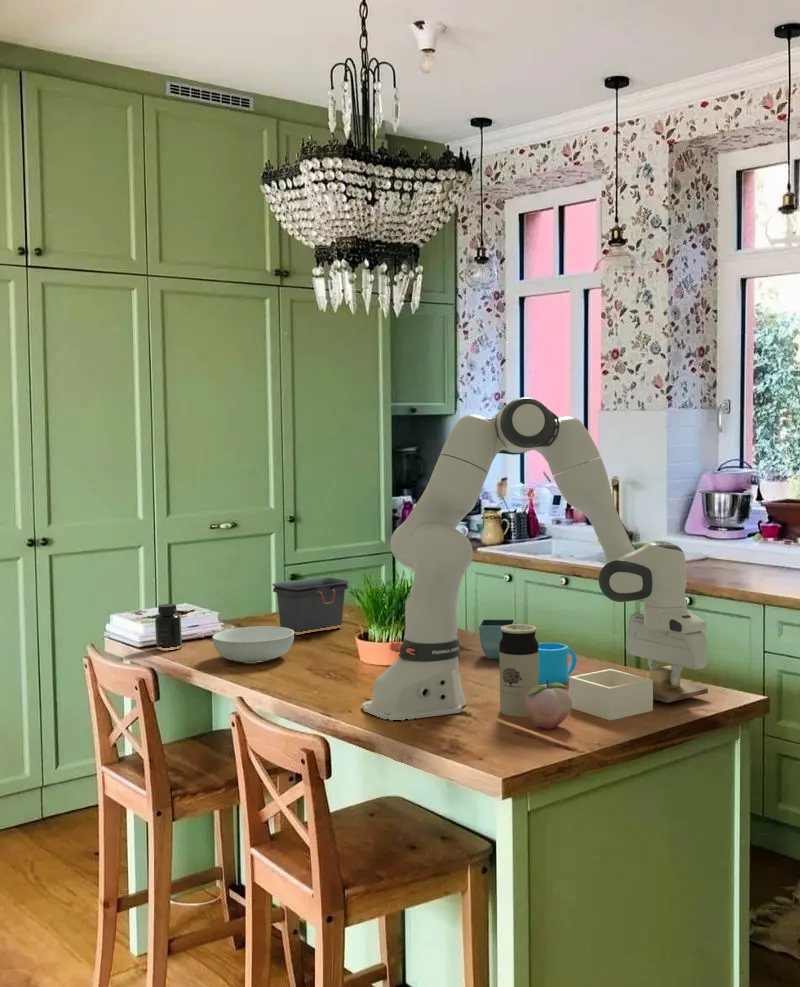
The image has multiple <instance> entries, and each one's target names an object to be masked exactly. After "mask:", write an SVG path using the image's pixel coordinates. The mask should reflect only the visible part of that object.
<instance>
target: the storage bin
mask: <svg viewBox="0 0 800 987" xmlns="http://www.w3.org/2000/svg"><path fill="white" fill-rule="evenodd" d="M349 583H350V580H347V579H341V578H336V577H335V578H334V577H319V578H310V579H309V578H308V579H299V580H292V581H291V580H290V581H289V580H288V581H281V582H280V581H279V582H275V583H274V582H273V583H271V585H272V586H273V590H272V592H273V593H275V594H276V596H277V597H276V598H277V605H278V606H277V607H278V617H279V627H284V628H289V629H292V630H293V631H294V632H303V631H308V630H314V629H320V628H326V627H331V626H337V625H341V624H342V625H343V617H344V616H343V615H344V602H345V593H346V590H348V589H349V585H348V584H349Z"/></svg>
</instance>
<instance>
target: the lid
mask: <svg viewBox="0 0 800 987" xmlns="http://www.w3.org/2000/svg"><path fill="white" fill-rule="evenodd" d="M658 667H659V666H658ZM672 671H673V669H671V664H670V665H666V666H665V665H664V666H661V667H659V668H654V669H650V668H649V679H652V680H653V700H656V701H660V702H662V703H671V702H676V701H680V700H684V699H687V698H688V699H689V698H693V697H699V696H702V695H706V694H709V688H707V687H703V686H699V685H696V684H692V683H687V682H684V681H681V674H680V675H679V676H678V684H677V685H671V684H668V683H667V681H668V679H667V676H670V675H671V673H672Z"/></svg>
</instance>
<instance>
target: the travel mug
mask: <svg viewBox="0 0 800 987" xmlns="http://www.w3.org/2000/svg"><path fill="white" fill-rule="evenodd" d="M500 630H501V631H502V636H503V637H502V639H501V641H500V643H499V659H498V660H499V709H500V710H499V712H500V713H501V714H503V715H504V716H505V715H506V716H509V717H510V716H511V717H517V718H518V717H521V718H522V717H529V716H528V714H527V712H526V708H525V698H526V696H527V694H528V692H529V691H530V690H531V689H533V688H534V687H536V686H539V660H538V644H539V642H538V640H537V639H536V633H537V630H538V628H537V626H535V625H530V624H522V623H521V624H520V623H517V624H516V623H515V624H513V625H505V626H502V627H501V628H500Z"/></svg>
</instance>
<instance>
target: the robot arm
mask: <svg viewBox="0 0 800 987" xmlns="http://www.w3.org/2000/svg"><path fill="white" fill-rule="evenodd" d="M441 449H442V450H441V451H440V453H439V454H440V455H439V456H438V459H437V462H436V464H435V466H434V469H433V470H432V473H431V476H430V479H429V481H428V483H427V485H426V488H425V489H424V491H423V493H422V494H421V496H420V498H419V499H418V500H417V502H416V504H415V505H414V506H413V508H412V510H411V511H410V513H409V515H408V516H407V517H406V519H405V520H404V521H403V522H402V523H401V524H400V525H398V526H397V527H396V528H395V530H394V531H393V533H392V535H391V537H390V542H389V543H390V551H391V554H392V556H393V557H394V558H395V559H396V560H397V561H398V562H399V564H401V565H402V566H403V567H404V568H406V569H408V570H411V571H413V572H414V576H413V582H412V587H411V590H410V593H409V596H408V597H407V598H406V600H405V605H404V612H405V613H404V616H405V617H404V618H405V620H404V621H405V622H404V624H405V637H404V639H403V641H402V644H401V643H399V642H396V641H392V642H390V644H389V650H390V651H392V652H395V653H398V657H397V659H395V661H394V662H392V664H390V665H389V666H388V667H387V668H386V670H384V671H383V672H382V673H381V674H380V675H379V676H378V677H377V678H376V679H375V681H374V683H373V684H374V685H373V687H372V689H373V690H372V696H371V700H367V701H364V702H362V705H361V709H362V708H363V709H364V710H365V711H366V712H368V713H370V714H372V715H375V716H377V717H376V718H378V717H380V718H379V719H382V718H383V719H382V720H386V719H389V720H388V721H393V720H401V721H406V720H405V719H408V720H415V718H416V719H422V718H430V717H437V716H439V717H440V716H444V715H452V714H459V713H461V712H462V711H463V710H462V708H463V707H464V706H466V704H467V701H466V698H465V695H464V690H463V686H462V681H461V674H460V673H461V672H460V667H459V666H460V665H459V659H460V654H461V652H460V650H461V649H460V645H461V644H460V638H459V637H458V600H459V596H460V595H459V594H460V590H461V586H462V580H463V577H464V574H465V572H466V571H467V570H468V569H469V567H470V565H471V563H472V561H473V557H474V556H473V554H474V553H473V550H474V549H473V546H472V542H471V541H470V540H469V538H468V537H467V536H466V535H465V534H463V533H462V532H461V531H459V530H458V529H457V528H458V526H459V524H460V523H461V522H462V520H464V518H465V517H466V516H467V515H468V514H469V513H470V512H471V511H472V510H473V509H474V508H475V506H476V505H477V502H478V499H479V497H480V495H481V491H482V489H483V487H484V484H485V481H486V479H487V476H488V474H489V472H490V470H491V466H492V464H493V461H494V460H495V458H496V456H497V455H498V454H505V455H512V456H514V455H515V456H516V455H517V456H518V455H522V454H525V453H528V452H530V451H536V452H538V453H539V454H540V455H541V456H542V457H543V459H544V460H545V461H546V463H547V465H548V466H549V470H550V472H551V476H552V478H553V481H554V482H555V485H556V487H557V488H558V491H559V492H560V494H561V495H562V497H563V499H564V501H566V503H567V504H568V505H569V506H570V507H573V508H575V510H578V511H579V512H581V513H582V514H583V515H584V516H585V517H586V518H587V520H588V521H589V522H590V524H591V526H592V528H593V530H594V532H595V535H596V537H597V539H598V542H599V543H600V545H601V548H602V550H603V552H604V555H605V564H604V565H603V567H602V568H601V570H600V571H599V575H598V585H599V589H600V590H601V592H602V594H603V595H604V596H605V598H607V599H609V600H611V601H613V602H615V603H616V602H618V603H628V602H633V601H638V600H639V601H640V600H643V613H639V612H634V613H632V614H631V615H629V618H628V625H627V630H626V631H627V632H626V638H625V649H626V652H627V653H628V655H631V656H636V657H640V658H644V659H647V665H648V667H649V670H650V669H654V668H659V663H660V662H661V663H664V664H670V666H671V669H673V671H672V673H671V675H670V676H667V679H668V681H667V683H668V684H671V685H677V684H678V676H679V675H680V676H681V673H682V671H683V669H684V668H685V669H690V670H701V669H705V667H706V665H707V664H708V653H709V652H708V650H709V649H708V639H707V636H706V634H705V633H704V632H703V631H706V629H707V622H706V620H704V619H702V618H701V617H700V616H697V615H696V614H695V613H694V612H692V611H690V610H689V609H687V606H688V605H687V598H686V594H685V593H686V588H687V585H688V584H687V582H688V580H687V579H688V576H687V574H688V573H687V562H686V561H687V560H686V556H685V553H684V551H683V550H682V548H681V547H680V546H679V545H677V544H674V543H671V542H666V541H660V540H651V541H649V542H647V543H646V544H644V545H643V546H641V547H639V548H638V549H637V547H636V546H634V543H633V542H632V541H631V539H630V536H629V535H628V532H627V530H626V528H625V526H624V523H623V521H622V519H621V516H620V514H619V512H618V510H617V507H616V505H615V501H614V496H613V493H612V488H611V484H610V480H609V477H608V473H607V470H606V466H605V464H604V461H603V459H602V457H601V455H600V451H599V450H598V448H597V446H596V443H595V442H594V440H593V437H592V436H591V434H590V432H589V430H587V428H586V427H585V425H584V424H583V422H582V421H581V420H580V419H578V418H576V417H574V416H563V417H562V416H560V417H558V415H557V414H556V413H554V412H553V411H551V410H550V409H549V408H548V407H547V406H545V404H543V403H542V402H541V401H539V400H538V399H535V398H532V397H519V398H516V399H513V400H512V401H510V402H509V403H507V404H506V405H504V406H503V407H502V408H501V409H500V410H499V411H498V412H497V413H496V414H494V416H493V417H492V418H490V417H485V416H481V415H479V414H467V415H464V416H462V417H461V418H459V420H458V421H457V422H456V424H455V425H454V427H452V430H451V432H450V433H449V435H448V437H447V439H446V441H445V443H444V444H443V447H442V448H441ZM365 711H364V712H365ZM366 712H365V713H366ZM368 713H367V714H368ZM370 714H369V715H370ZM372 715H371V716H372ZM375 716H374V717H375Z"/></svg>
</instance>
